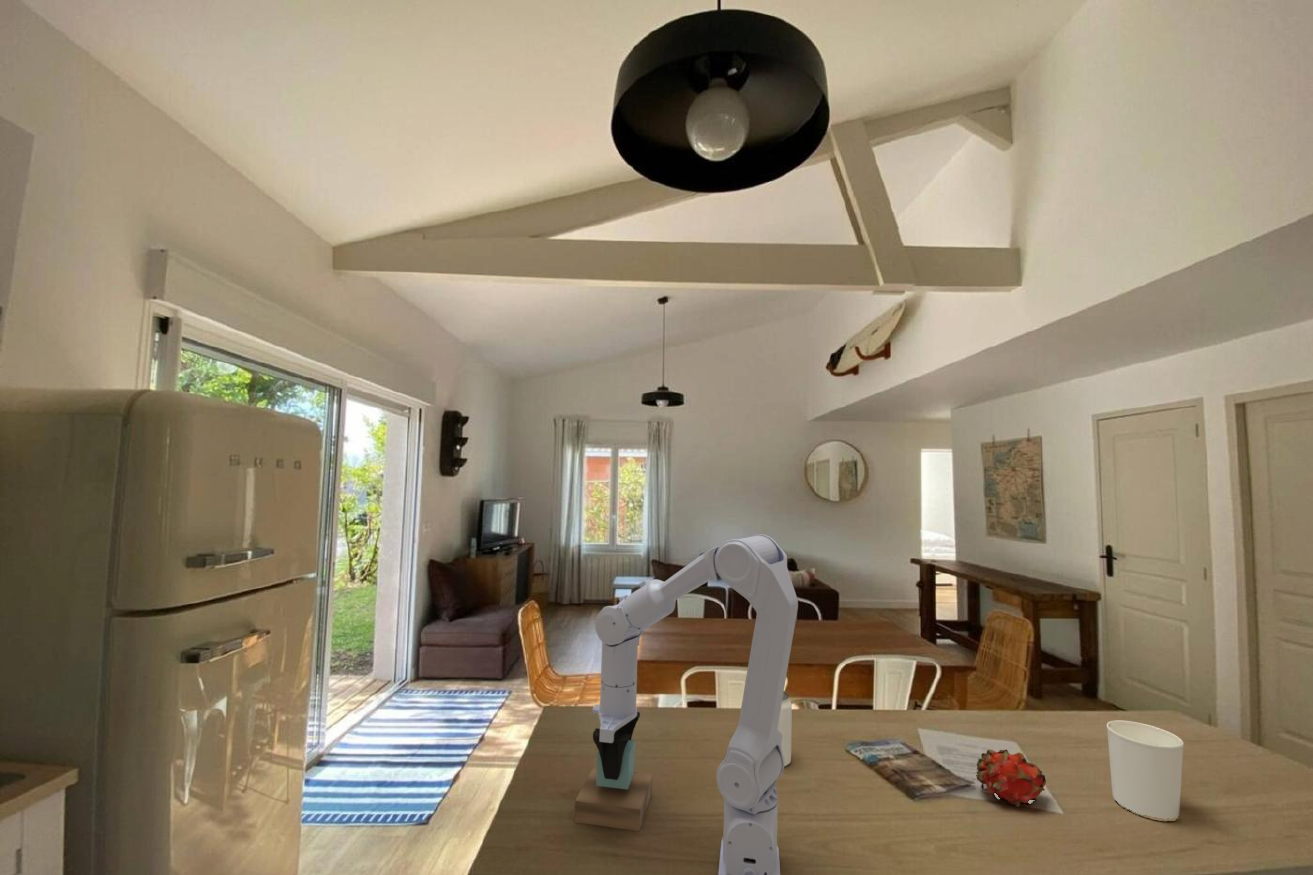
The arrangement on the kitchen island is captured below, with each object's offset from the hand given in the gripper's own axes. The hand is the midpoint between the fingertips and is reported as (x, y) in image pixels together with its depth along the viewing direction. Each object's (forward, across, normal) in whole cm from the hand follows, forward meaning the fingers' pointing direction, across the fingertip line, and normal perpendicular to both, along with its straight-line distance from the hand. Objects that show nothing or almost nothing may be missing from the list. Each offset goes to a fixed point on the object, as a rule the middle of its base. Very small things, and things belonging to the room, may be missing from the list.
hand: (615, 768), depth 92 cm
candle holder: (+6, -19, +85) cm, 87 cm away
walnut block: (+6, 0, 0) cm, 6 cm away
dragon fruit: (+6, -17, +64) cm, 66 cm away
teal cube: (+2, 0, 0) cm, 2 cm away
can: (+6, -21, +25) cm, 33 cm away
